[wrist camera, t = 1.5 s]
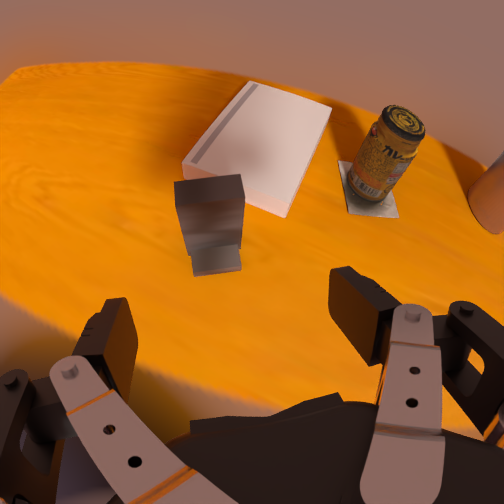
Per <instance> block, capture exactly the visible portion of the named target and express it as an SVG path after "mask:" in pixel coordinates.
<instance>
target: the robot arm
mask: <svg viewBox="0 0 504 504" xmlns="http://www.w3.org/2000/svg"><path fill="white" fill-rule="evenodd" d="M468 201H469V205H470V207H471V210H472V212H473V214H474V215H475V217H476V219H477V220H478V221H479V223H480V224H481V225H482V226H483V227H484V228H485V229H486V230H488V231H489V232H491V233H494V234H500V233H501V232H503V231H504V151H503V152H502V154H501V155H500V156H499V157H498V158H497V159H496V161H495V162H494V163H493V164H492V165H491V166H490V167H489V168H488V169H487V171H486V172H485V173H484V174H483V175H482V176H481V177H480V178H479V179H478V180H477V181H476V182H475V183H474V184H473V185H472V187H471V188H470V189H469V191H468ZM328 308H329V313H330V315H331V317H332V319H333V320H334V321H335V323H336V324H337V325H338V327H339V328H340V329H341V331H342V332H343V333H344V334H345V336H346V337H347V338H348V340H349V341H350V342H351V344H352V345H353V346H354V348H355V349H356V350H357V352H358V353H359V354H360V356H361V357H362V358H363V359H364V361H365V362H366V363H367V365H368V366H369V367H370V366H373V365H376V364H379V363H381V364H382V365H383V366H382V370H381V374H380V379H379V384H378V389H377V393H376V397H375V402H374V404H372V403H366V402H358V401H345V402H343V400H342V398H341V396H340V395H339V393H338V392H337V393H333V394H329V395H326V396H322V397H318V398H314V399H311V400H307V401H303V402H301V403H299V404H297V405H295V406H292V407H290V408H288V409H286V410H283V411H281V412H279V413H277V414H274V415H272V416H268V417H241V416H238V417H236V416H224V417H217V418H209V419H200V420H191V421H190V432H187V433H184V434H182V435H179V436H177V437H175V438H173V439H171V440H169V441H168V442H166V443H165V444H163V443H162V442H161V441H160V440H159V439H158V438H157V437H156V436H155V435H154V434H153V433H152V432H151V431H150V430H149V429H148V428H147V426H146V425H145V424H144V423H143V422H142V421H141V420H140V419H139V418H138V417H137V416H136V415H135V413H134V412H133V411H132V410H131V409H130V408H129V407H128V399H129V393H130V386H131V381H132V376H133V370H134V365H135V359H136V354H137V349H138V337H137V332H136V328H135V325H134V322H133V318H132V315H131V311H130V308H129V304H128V301H127V299H126V298H125V297H122V298H114V299H107V300H106V301H105V303H104V306H103V308H102V310H101V312H100V313H95V314H94V315H93V316H92V317H91V318H90V319H89V320H88V321H87V323H86V325H85V327H84V330H83V332H82V334H81V337H80V338H79V340H78V342H77V344H76V347H75V349H74V351H73V353H72V355H71V356H69V357H66V358H63V359H61V360H60V361H58V362H57V363H55V364H54V366H53V367H52V369H51V370H50V376H49V377H46V378H41V379H38V380H33V381H31V379H30V378H29V375H28V374H27V372H25V371H24V370H21V369H15V370H12V371H9V372H7V373H6V374H4V375H3V376H1V377H0V504H55V503H56V494H57V485H58V479H59V472H60V466H61V460H62V453H63V449H64V443H65V439H66V438H71V437H75V436H79V438H80V440H81V441H82V443H83V445H84V446H85V448H86V450H87V451H88V453H89V454H90V456H91V458H92V459H93V461H94V462H95V464H96V465H97V467H98V468H99V470H100V471H101V473H102V474H103V475H104V477H105V478H106V480H107V481H108V482H109V484H110V485H111V487H112V488H113V489H114V491H116V494H115V495H114V496H113V497H112V498H111V500H110V501H108V502H107V504H504V326H502V325H501V324H500V323H499V322H497V321H496V320H495V319H494V318H492V317H491V316H490V315H489V314H487V313H486V312H485V311H484V310H482V309H481V308H480V307H478V306H477V305H475V304H473V303H471V302H467V301H455V302H453V303H451V304H450V307H449V311H448V314H447V315H439V316H432V314H431V312H430V311H429V310H428V309H426V308H425V307H423V306H420V305H416V304H403V305H402V304H401V303H400V302H399V301H398V300H397V299H395V298H394V297H393V296H392V295H391V294H389V293H388V292H386V290H385V289H384V288H382V287H380V285H379V284H377V283H376V282H375V281H374V280H372V279H370V278H367V277H365V276H363V275H362V276H361V275H360V274H359V273H357V272H356V271H355V270H354V269H353V268H351V267H350V266H346V267H340V268H334V269H331V271H330V275H329V297H328ZM471 349H473V350H474V351H476V352H477V353H478V354H479V355H480V356H481V357H482V359H483V361H484V372H483V374H482V375H481V374H480V373H479V372H478V370H477V369H476V368H475V367H474V366H473V365H472V364H471V363H470V362H469V361H468V360H467V359H468V357H469V354H470V352H471ZM442 385H443V386H444V387H445V388H446V390H447V391H448V392H449V393H450V395H451V396H452V397H453V398H454V400H455V401H456V402H457V403H458V405H459V406H460V407H461V408H462V410H463V411H464V412H465V414H466V415H467V416H468V417H469V419H470V420H471V421H472V423H473V424H474V425H475V426H476V428H477V429H478V430H479V432H480V433H481V434H482V436H483V439H484V441H480V440H477V439H473V438H470V437H467V436H463V435H460V434H457V433H454V432H451V431H448V430H445V429H442V428H441V422H442ZM23 430H24V431H25V432H26V433H27V436H26V439H25V442H24V446H23V449H22V452H21V450H20V437H21V434H22V431H23Z"/></svg>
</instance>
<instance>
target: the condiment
mask: <svg viewBox="0 0 504 504" xmlns="http://www.w3.org/2000/svg"><path fill="white" fill-rule="evenodd" d="M424 136H425V127H424V125H423V123H422V122H421V120H420V119H419V118H418V117H417V116H416V115H415V114H414V113H412V112H411V111H409V110H408V109H406V108H404V107H401V106H396V105H390V106H387V107H386V108H384V109H383V111H382V114H381V115H380V117H379V118H378V121H376V122H374V123H373V125H372V126H371V128H370V130H369V132H368V134H367V136H366V138H365V140H364V142H363V144H362V146H361V148H360V150H359V152H358V154H357V156H356V158H355V160H354V162H353V163H352V162H346V161H338V163H339V168H340V173H341V178H342V183H343V187H344V190H345V196H346V201H347V205H348V211H349V213H350V214H356V215H367V216H377V217H389V218H399V215H398V211H397V207H396V203H395V200H394V197H393V193H392V188H393V187H394V185H395V184H396V183H397V181H398V180H399V179H400V177H401V176H402V174H403V173H404V172H405V170H406V169H407V167H408V166H409V165H410V163H411V161H412V160H413V159H414V158H415V156H416V154H417V151H418V146H419V145H420V142H421V140H422V139H423V138H424ZM353 194H354V195H353ZM382 201H383V203H382ZM381 203H382V205H380V204H381Z"/></svg>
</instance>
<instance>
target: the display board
mask: <svg viewBox="0 0 504 504" xmlns="http://www.w3.org/2000/svg"><path fill="white" fill-rule="evenodd" d="M331 111H332V108H330V107H328V106H325V105H323V104H320V103H317V102H315V101H312V100H309V99H306V98H303V97H301V96H298V95H295V94H292V93H289V92H286V91H283V90H280V89H276V88H273V87H270V86H267V85H263V84H260V83H256V82H253V81H249V82H248V83H247V84H246V85H245V86H244V87H243V88H242V90H241V91H240V92H239V93H238V94H237V95H236V96H235V97H234V99H233V100H232V101H231V102H230V103H229V104H228V105H227V107H226V108H225V109H224V110H223V111H222V112H221V114H220V115H219V116H218V117H217V118H216V120H215V121H214V122H213V123H212V124H211V126H210V127H209V128H208V129H207V131H206V132H205V133H204V134H203V135H202V137H201V138H200V139H199V140H198V142H197V143H196V144H195V146H194V147H193V148H192V149H191V151H190V152H189V153H188V155H187V156H186V157H185V158H184V160H183V161H182V162H181V163H182V169H183V174H184V179H187V180H191V179H199V178H207V177H215V176H224V175H233V174H241V179H242V183H243V188H244V193H245V202H246V203H248V204H251V205H253V206H256V207H258V208H261V209H263V210H266V211H268V212H271V213H273V214H275V215H278V216H280V217H283V218H286V215H287V213H288V211H289V209H290V206H291V204H292V202H293V200H294V197H295V195H296V193H297V191H298V189H299V186H300V184H301V182H302V180H303V177H304V175H305V173H306V170H307V168H308V166H309V164H310V161H311V159H312V157H313V155H314V152H315V150H316V148H317V145H318V143H319V141H320V139H321V136H322V134H323V132H324V129H325V127H326V125H327V122H328V120H329V117H330V114H331Z"/></svg>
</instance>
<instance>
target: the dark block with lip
mask: <svg viewBox="0 0 504 504" xmlns="http://www.w3.org/2000/svg"><path fill="white" fill-rule="evenodd" d="M174 192H175V207H176V211H177V214H178V218H179V222H180V226H181V230H182V234H183V237H184V241H185V245H186V248H187V252H188V256H191V258H192V267H193V274H194V277H197V276H205V275H212V274H219V273H226V272H233V271H240V270H241V261H240V255H239V250H238V249H241V238H242V227H243V217H244V207H245V193H244V188H243V183H242V179H241V174H233V175H224V176H215V177H207V178H199V179H191V180H184V181H177V182H174Z"/></svg>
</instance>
